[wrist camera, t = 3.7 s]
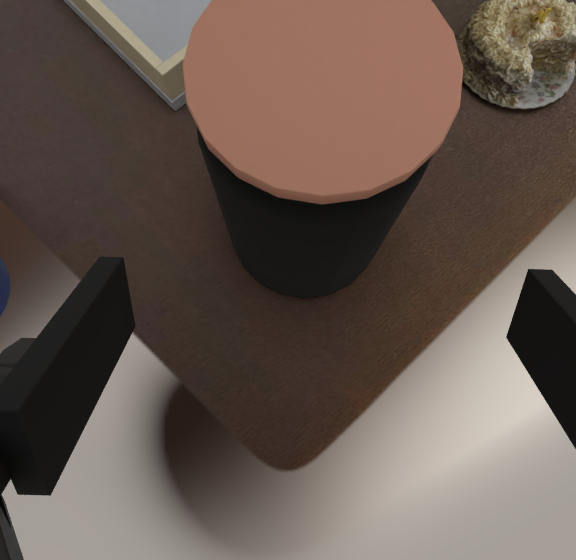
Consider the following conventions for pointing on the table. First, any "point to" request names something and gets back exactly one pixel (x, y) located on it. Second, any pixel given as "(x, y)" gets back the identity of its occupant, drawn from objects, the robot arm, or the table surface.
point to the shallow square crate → (147, 37)
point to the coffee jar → (318, 126)
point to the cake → (519, 51)
